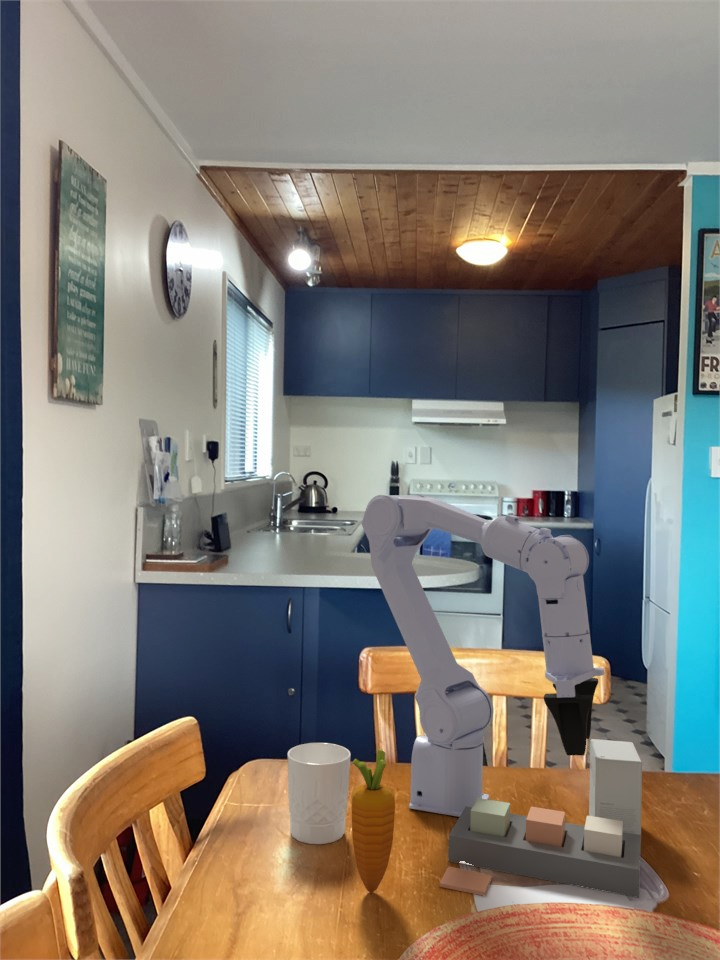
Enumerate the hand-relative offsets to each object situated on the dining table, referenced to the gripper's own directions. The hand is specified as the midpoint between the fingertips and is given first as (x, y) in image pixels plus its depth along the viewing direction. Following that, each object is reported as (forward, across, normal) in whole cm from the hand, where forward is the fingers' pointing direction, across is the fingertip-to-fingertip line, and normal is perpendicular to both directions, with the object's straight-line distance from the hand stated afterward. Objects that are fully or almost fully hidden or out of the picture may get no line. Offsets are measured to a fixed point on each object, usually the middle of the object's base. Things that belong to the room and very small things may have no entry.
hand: (578, 746), depth 97 cm
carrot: (+11, -19, +21) cm, 31 cm away
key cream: (+11, -5, -2) cm, 12 cm away
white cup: (+9, -8, +32) cm, 34 cm away
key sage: (+9, -5, +11) cm, 15 cm away
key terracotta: (+10, -5, +5) cm, 12 cm away
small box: (+13, +7, -2) cm, 15 cm away
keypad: (+12, -5, +5) cm, 14 cm away
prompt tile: (+11, -13, +12) cm, 21 cm away
